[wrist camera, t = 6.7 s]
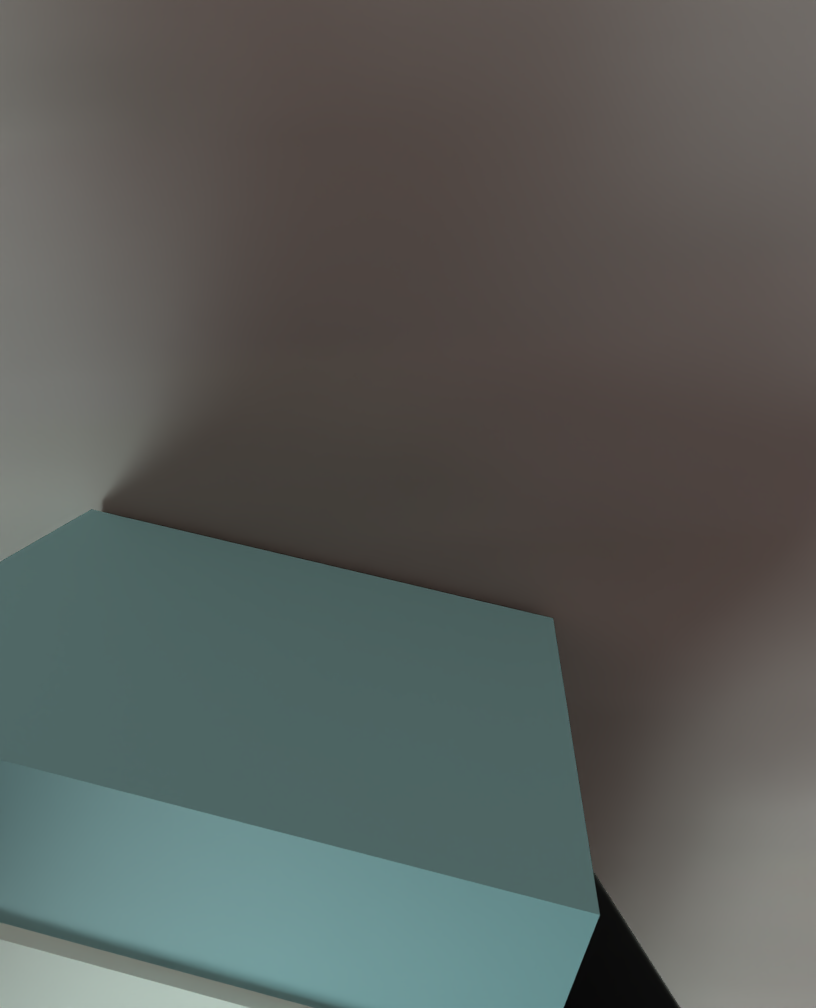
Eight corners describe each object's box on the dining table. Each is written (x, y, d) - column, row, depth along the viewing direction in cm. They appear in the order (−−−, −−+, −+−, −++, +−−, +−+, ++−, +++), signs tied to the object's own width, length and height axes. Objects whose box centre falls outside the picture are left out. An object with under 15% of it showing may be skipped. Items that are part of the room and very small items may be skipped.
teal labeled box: (403, 1110, 10) (353, 1555, 6) (68, 1017, 10) (-152, 1397, 7) (553, 617, 7) (601, 931, 4) (92, 509, 7) (-255, 708, 4)
